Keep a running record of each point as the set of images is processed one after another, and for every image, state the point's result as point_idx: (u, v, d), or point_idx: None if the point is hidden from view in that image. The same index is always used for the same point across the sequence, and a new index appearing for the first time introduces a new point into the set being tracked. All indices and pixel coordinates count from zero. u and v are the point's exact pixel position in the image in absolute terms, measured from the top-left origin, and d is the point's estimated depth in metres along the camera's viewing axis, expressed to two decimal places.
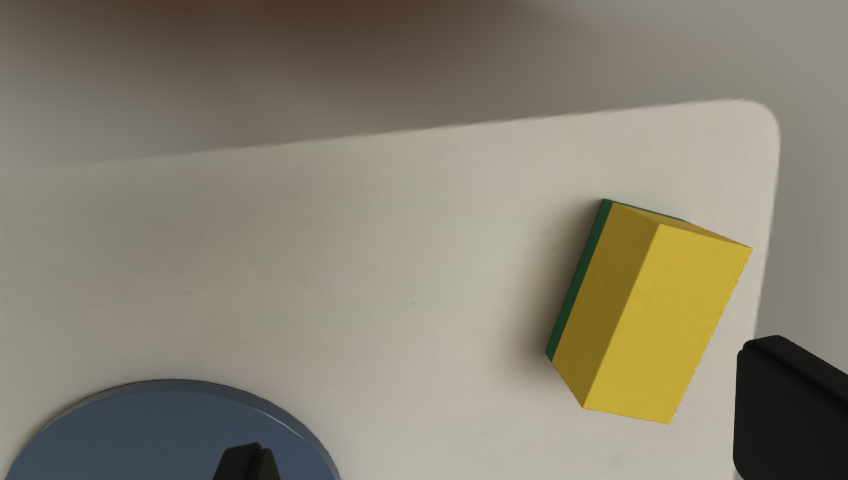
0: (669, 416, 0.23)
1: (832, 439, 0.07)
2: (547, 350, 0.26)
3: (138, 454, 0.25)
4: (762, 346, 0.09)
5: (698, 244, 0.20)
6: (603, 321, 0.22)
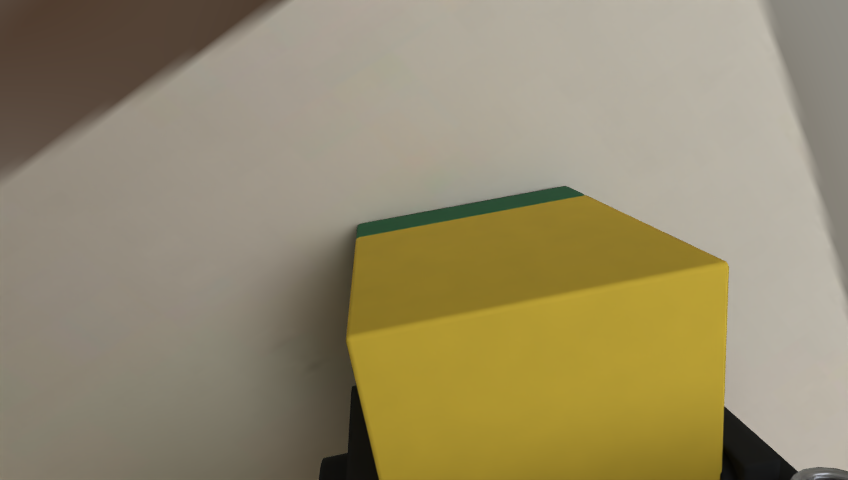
0: None
1: None
2: None
3: None
4: None
5: (527, 337, 0.06)
6: None
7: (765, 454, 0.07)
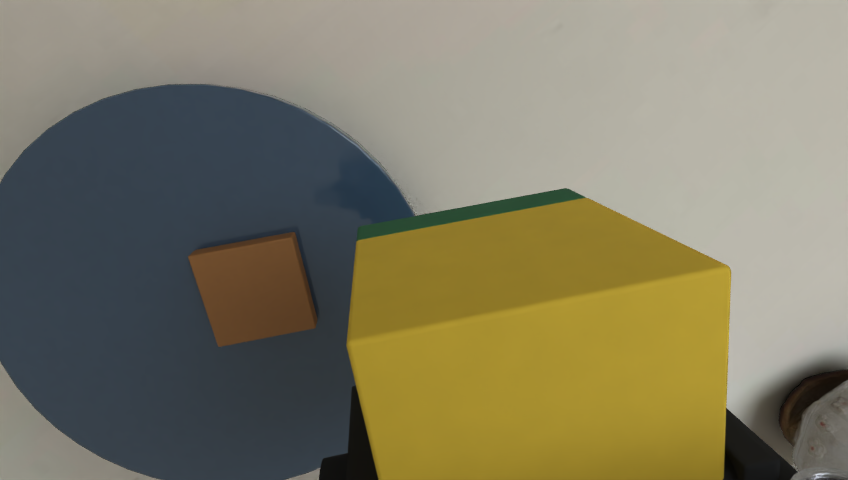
0: None
1: None
2: None
3: (113, 214, 0.18)
4: None
5: (527, 341, 0.06)
6: None
7: (765, 454, 0.07)
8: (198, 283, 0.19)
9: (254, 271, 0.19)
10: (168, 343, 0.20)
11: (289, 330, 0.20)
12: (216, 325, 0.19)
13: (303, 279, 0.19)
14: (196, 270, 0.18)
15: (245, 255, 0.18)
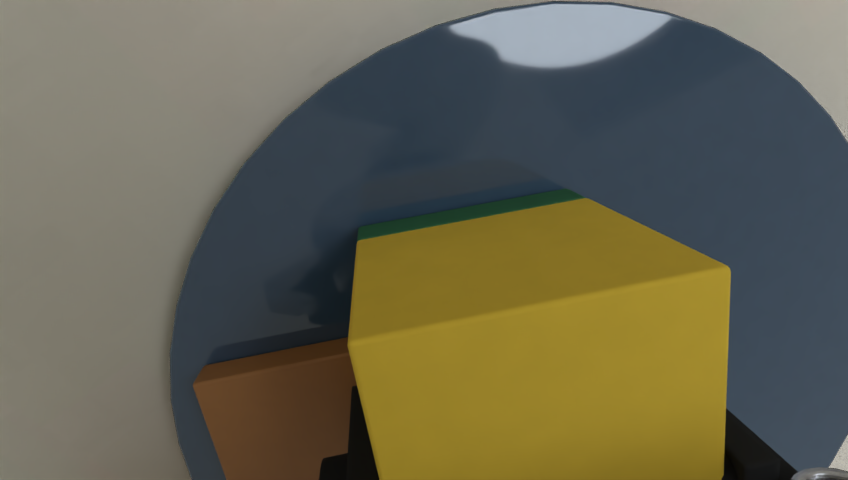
0: None
1: None
2: None
3: None
4: None
5: (528, 341, 0.06)
6: None
7: (765, 454, 0.07)
8: (211, 429, 0.10)
9: (311, 406, 0.10)
10: None
11: None
12: None
13: None
14: (207, 407, 0.10)
15: (296, 380, 0.10)
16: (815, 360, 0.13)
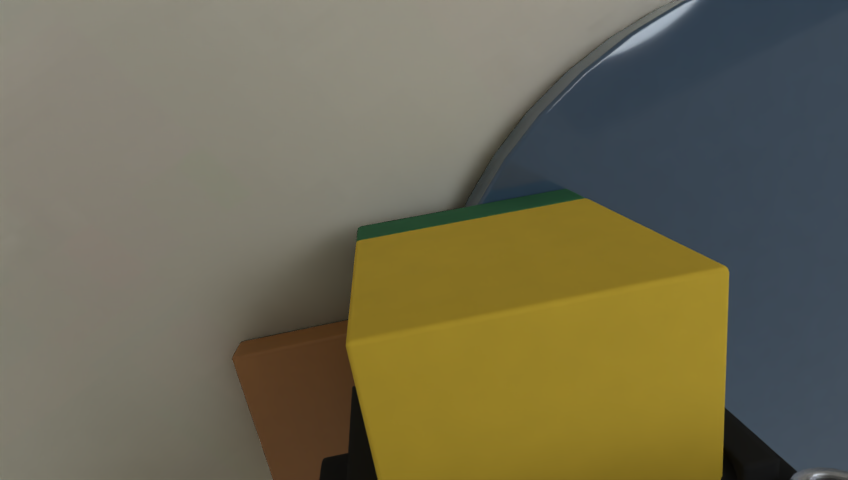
0: None
1: None
2: None
3: (686, 187, 0.11)
4: None
5: (526, 341, 0.06)
6: None
7: (764, 454, 0.07)
8: (248, 399, 0.11)
9: (339, 377, 0.11)
10: None
11: None
12: (276, 461, 0.12)
13: None
14: (245, 379, 0.11)
15: (326, 353, 0.11)
16: None
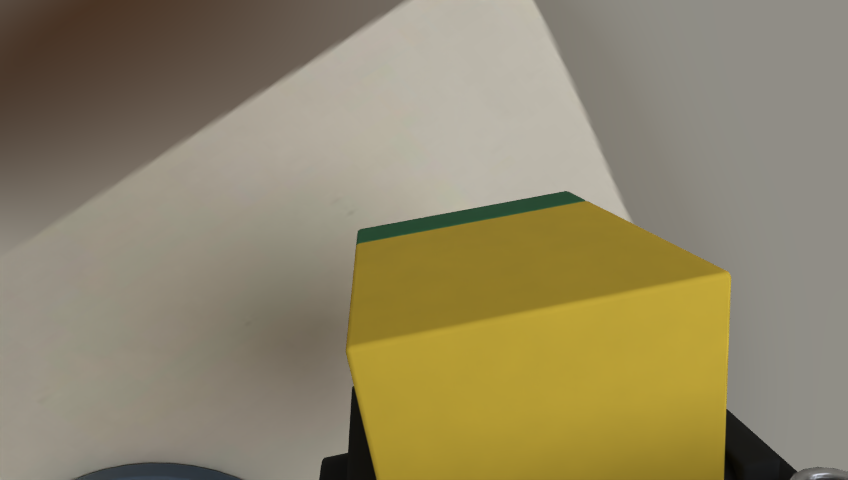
0: None
1: None
2: None
3: None
4: None
5: (526, 347, 0.06)
6: None
7: (764, 454, 0.07)
8: None
9: None
10: None
11: None
12: None
13: None
14: None
15: None
16: None
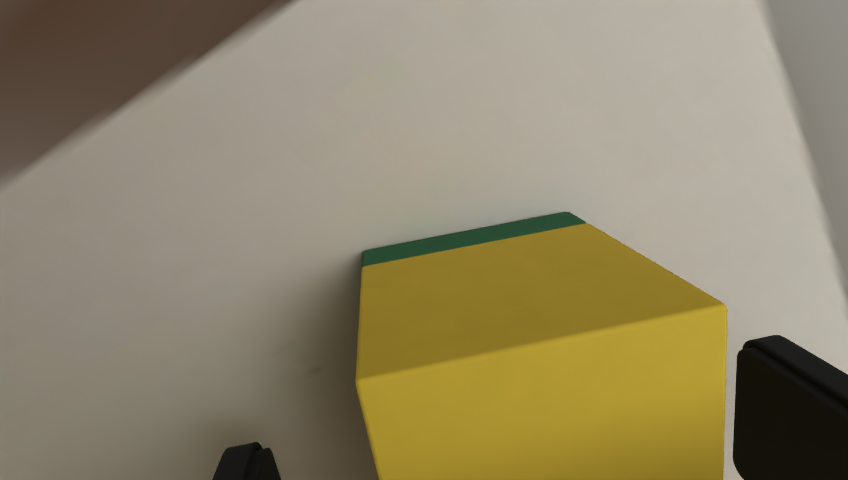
0: None
1: (832, 439, 0.07)
2: None
3: None
4: (762, 346, 0.09)
5: (530, 378, 0.06)
6: None
7: None
8: None
9: None
10: None
11: None
12: None
13: None
14: None
15: None
16: None
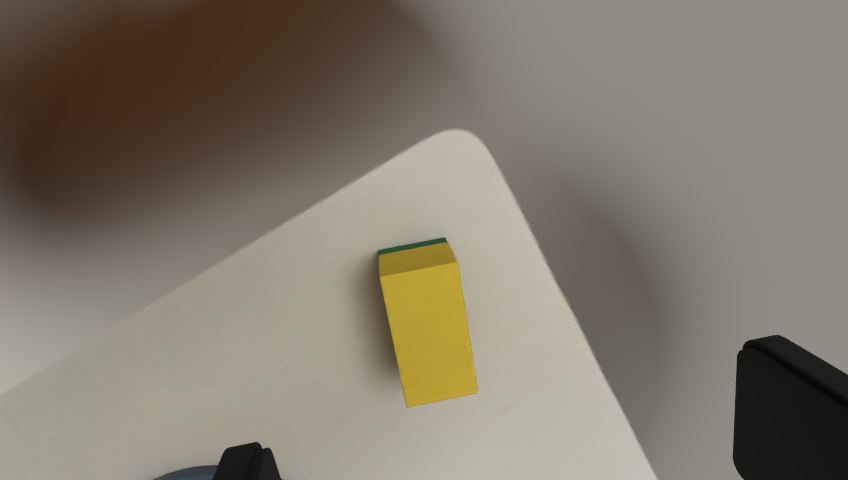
0: (473, 388, 0.30)
1: (832, 439, 0.07)
2: None
3: None
4: (762, 346, 0.09)
5: (416, 277, 0.28)
6: None
7: None
8: None
9: None
10: None
11: None
12: None
13: None
14: None
15: None
16: None
